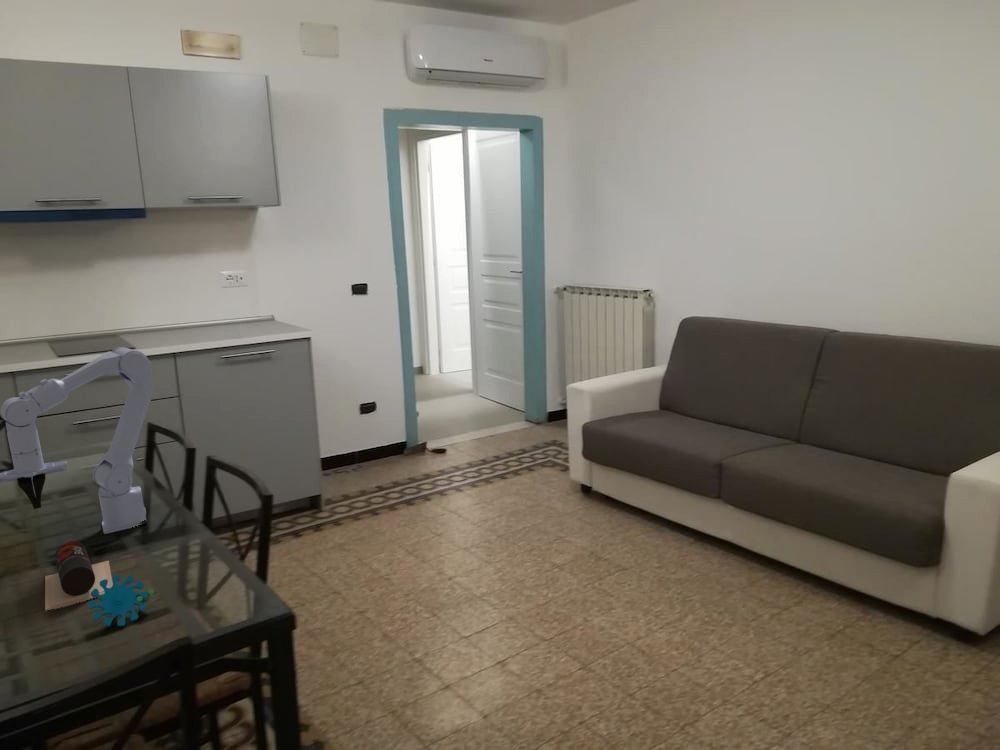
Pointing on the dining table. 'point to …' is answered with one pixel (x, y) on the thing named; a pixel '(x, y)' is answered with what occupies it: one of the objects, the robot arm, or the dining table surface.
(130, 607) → the blue virus model
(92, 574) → the deodorant
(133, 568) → the dining table surface
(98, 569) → the pink flat board
